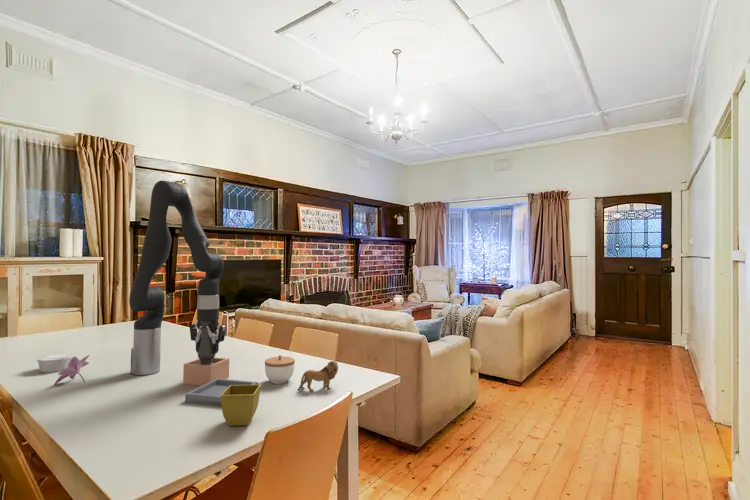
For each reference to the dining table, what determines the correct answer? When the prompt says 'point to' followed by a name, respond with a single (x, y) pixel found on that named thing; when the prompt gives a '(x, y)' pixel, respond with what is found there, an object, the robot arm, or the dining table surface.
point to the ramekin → (54, 362)
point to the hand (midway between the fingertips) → (207, 352)
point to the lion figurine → (320, 376)
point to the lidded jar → (279, 369)
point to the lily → (73, 368)
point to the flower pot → (240, 403)
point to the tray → (213, 391)
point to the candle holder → (205, 345)
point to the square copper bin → (205, 371)
